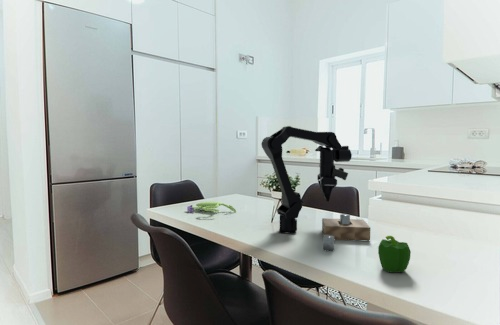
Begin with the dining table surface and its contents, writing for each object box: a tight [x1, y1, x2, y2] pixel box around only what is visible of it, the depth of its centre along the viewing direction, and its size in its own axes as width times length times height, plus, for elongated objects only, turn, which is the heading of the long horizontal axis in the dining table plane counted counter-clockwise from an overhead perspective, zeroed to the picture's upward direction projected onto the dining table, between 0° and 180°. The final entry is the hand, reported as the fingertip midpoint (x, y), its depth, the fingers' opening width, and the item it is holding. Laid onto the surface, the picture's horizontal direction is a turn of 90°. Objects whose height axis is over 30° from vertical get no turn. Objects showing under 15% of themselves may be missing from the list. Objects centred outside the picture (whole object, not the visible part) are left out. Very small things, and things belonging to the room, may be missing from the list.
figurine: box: [187, 201, 237, 214], centre depth 163 cm, size 18×27×6 cm
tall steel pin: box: [339, 213, 351, 225], centre depth 122 cm, size 4×4×8 cm
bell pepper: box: [377, 235, 411, 273], centre depth 89 cm, size 8×8×10 cm
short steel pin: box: [322, 234, 335, 252], centre depth 106 cm, size 4×4×4 cm
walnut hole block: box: [321, 218, 371, 241], centre depth 122 cm, size 16×12×5 cm
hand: (326, 199), depth 133 cm, fingers open, 9 cm apart
